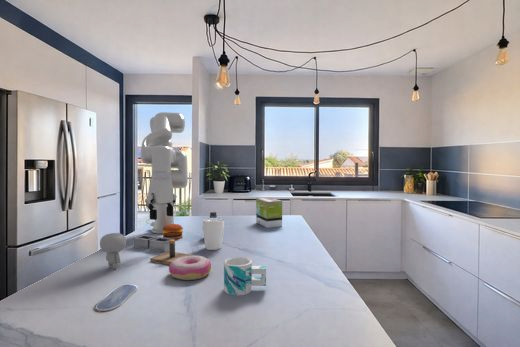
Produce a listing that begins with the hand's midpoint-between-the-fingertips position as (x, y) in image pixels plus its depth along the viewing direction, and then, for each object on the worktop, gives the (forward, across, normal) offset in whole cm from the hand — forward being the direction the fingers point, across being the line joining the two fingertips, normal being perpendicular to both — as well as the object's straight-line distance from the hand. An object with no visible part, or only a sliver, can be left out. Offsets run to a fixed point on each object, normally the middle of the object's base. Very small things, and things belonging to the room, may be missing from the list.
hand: (161, 217), depth 132 cm
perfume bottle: (+13, -27, +8) cm, 31 cm away
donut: (+14, +17, +28) cm, 36 cm away
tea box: (+13, -66, +20) cm, 70 cm away
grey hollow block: (+13, -1, -10) cm, 16 cm away
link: (+13, -1, 0) cm, 13 cm away
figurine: (+14, +24, 0) cm, 28 cm away
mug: (+15, +20, +50) cm, 56 cm away
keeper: (+14, +8, +12) cm, 20 cm away
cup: (+14, -12, +18) cm, 25 cm away
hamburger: (+13, -18, -10) cm, 24 cm away
